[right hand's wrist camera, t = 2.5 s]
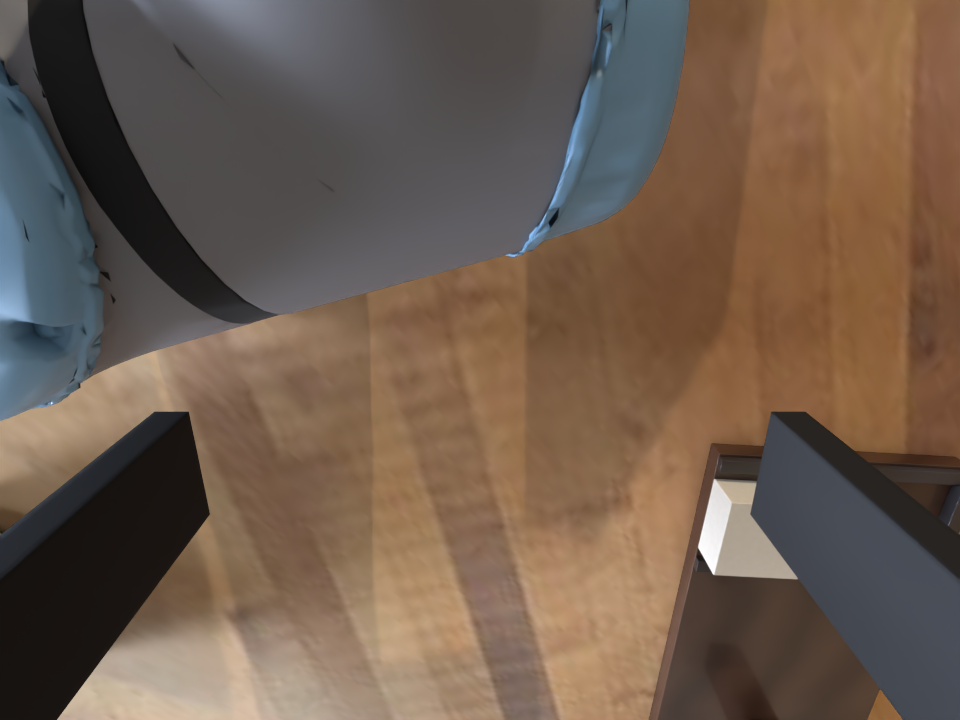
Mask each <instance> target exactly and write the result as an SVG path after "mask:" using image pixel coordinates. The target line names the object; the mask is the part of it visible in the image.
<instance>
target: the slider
mask: <svg viewBox="0 0 960 720" xmlns="http://www.w3.org/2000/svg"><path fill="white" fill-rule="evenodd" d="M756 484H757V481H748V480H729V479H714V482H713V486H712V490H711V494H710V499H709V503H708V507H707V511H706V516H705V520H704V524H703V529H702V533H701V537H700V541H699V546H698V548H699V550H700V552H701V553H702V555H703V557H704V559H705V561H706V562H707V564H708V566H709V568H710V570H711V571H712V573H713V575H721V576H741V577H760V578H780V579H798V578H797V576H796V575H795V574H794V572H793V571H792V570H791V568H790V567H789V566H788V564H787V563H786V562H785V560H784V559H783V558H782V556H781V555H780V554H779V552H778V551H777V550H776V548H775V547H774V546H773V544H772V543H771V542H770V540H769V539H768V538H767V536H766V535H765V534H764V532H763V531H762V529H761V528H760V527H759V525H758V524H757V523H756V521H755V520H754V519H753V517H752V516H751V515H750V513H751V508H752V503H753V498H754V493H755V488H756Z"/></svg>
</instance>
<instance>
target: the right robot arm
mask: <svg viewBox="0 0 960 720" xmlns="http://www.w3.org/2000/svg"><path fill="white" fill-rule="evenodd" d="M688 15H689V0H0V421H1V420H4V419H7V418H10V417H13V416H15V415H17V414H20V413H22V412H24V411H27V410H29V409H32V408H42V407H47V406H51V405H54V404H56V403H59V402H61V401H62V400H63V399H64V398H66V397H68V396H69V394H70V393H72V392H74V391H75V390H77V389H79V388H80V383H82V382H83V381H85V380H86V379H88V378H90V377H91V376H93V375H95V374H97V373H99V372H101V371H103V370H105V369H108V368H110V367H112V366H115V365H117V364H119V363H122V362H124V361H127V360H130V359H132V358H135V357H138V356H141V355H143V354H146V353H149V352H152V351H156V350H159V349H162V348H166V347H169V346H173V345H176V344H180V343H183V342H187V341H190V340H194V339H197V338H201V337H204V336H208V335H211V334H215V333H219V332H222V331H226V330H229V329H233V328H236V327H240V326H243V325H247V324H250V323H253V322H256V321H259V320H263V319H266V318H270V317H273V316H277V315H281V314H289V313H294V312H298V311H302V310H305V309H309V308H313V307H316V306H320V305H324V304H328V303H331V302H335V301H339V300H342V299H346V298H350V297H353V296H357V295H361V294H364V293H368V292H372V291H375V290H379V289H383V288H386V287H390V286H394V285H397V284H401V283H405V282H408V281H412V280H416V279H419V278H423V277H427V276H430V275H434V274H438V273H441V272H445V271H449V270H452V269H456V268H460V267H463V266H467V265H471V264H474V263H478V262H482V261H486V260H489V259H493V258H497V257H500V256H504V255H506V256H510V257H516V256H520V255H523V254H524V252H528V251H532V250H533V249H535V248H536V247H537V246H538V245H540V244H541V243H542V242H543V241H546V240H549V239H552V238H555V237H558V236H561V235H564V234H567V233H570V232H573V231H576V230H579V229H582V228H585V227H588V226H591V225H594V224H597V223H600V222H602V221H604V220H606V219H608V218H609V217H611V216H612V215H614V214H615V213H617V212H618V211H620V210H621V209H623V208H624V207H625V206H626V205H627V204H628V203H629V202H630V201H631V200H632V199H633V198H634V197H635V196H636V195H637V193H638V192H639V191H640V189H641V188H642V186H643V185H644V184H645V182H646V180H647V179H648V177H649V175H650V173H651V172H652V170H653V168H654V166H655V164H656V162H657V159H658V157H659V155H660V153H661V150H662V147H663V145H664V142H665V139H666V136H667V133H668V130H669V126H670V123H671V119H672V115H673V110H674V106H675V102H676V98H677V93H678V88H679V82H680V77H681V72H682V67H683V59H684V51H685V43H686V35H687V27H688ZM209 515H210V513H209V508H208V503H207V498H206V493H205V488H204V484H203V479H202V474H201V469H200V464H199V459H198V455H197V450H196V445H195V440H194V435H193V430H192V425H191V421H190V416H189V412H154V413H153V414H151V415H150V416H149V417H148V418H146V419H145V420H144V421H143V422H141V423H140V424H139V425H138V426H136V427H135V428H134V429H133V430H131V431H130V432H129V433H128V434H126V435H125V436H124V437H123V438H121V439H120V440H119V441H118V442H116V443H115V444H114V445H113V446H111V447H110V448H109V449H108V450H106V451H105V452H104V453H103V454H101V455H100V456H99V457H98V458H96V459H95V460H94V461H93V462H91V463H90V464H89V465H88V466H86V467H85V468H84V469H83V470H81V471H80V472H79V473H78V474H76V475H75V476H74V477H73V478H71V479H70V480H69V481H68V482H66V483H65V484H64V485H63V486H61V487H60V488H59V489H58V490H56V491H55V492H54V493H53V494H51V495H50V496H49V497H48V498H46V499H45V500H44V501H43V502H41V503H40V504H39V505H38V506H36V507H35V508H34V509H33V510H31V511H30V512H29V513H28V514H26V515H25V516H24V517H23V518H21V519H20V520H19V521H18V522H16V523H15V524H14V525H13V526H11V527H10V528H9V529H8V530H6V531H5V532H4V533H3V534H1V535H0V720H57V719H58V717H59V716H60V715H61V713H62V712H63V711H64V709H65V708H66V707H67V705H68V704H69V703H70V701H71V700H72V699H73V697H74V696H75V695H76V693H77V692H78V691H79V689H80V688H81V687H82V685H83V684H84V682H85V681H86V680H87V678H88V677H89V676H90V674H91V673H92V672H93V670H94V669H95V668H96V666H97V665H98V664H99V662H100V661H101V660H102V658H103V657H104V656H105V654H106V653H107V652H108V650H109V649H110V648H111V646H112V645H113V644H114V642H115V641H116V640H117V638H118V637H119V636H120V634H121V633H122V631H123V630H124V629H125V627H126V626H127V625H128V623H129V622H130V621H131V619H132V618H133V617H134V615H135V614H136V613H137V611H138V610H139V609H140V607H141V606H142V605H143V603H144V602H145V601H146V599H147V598H148V597H149V595H150V594H151V593H152V591H153V590H154V589H155V587H156V586H157V585H158V583H159V582H160V580H161V579H162V578H163V576H164V575H165V574H166V572H167V571H168V570H169V568H170V567H171V566H172V564H173V563H174V562H175V560H176V559H177V558H178V556H179V555H180V554H181V552H182V551H183V550H184V548H185V547H186V546H187V544H188V543H189V542H190V540H191V539H192V538H193V536H194V535H195V534H196V532H197V531H198V529H199V528H200V527H201V525H202V524H203V523H204V521H205V520H206V519H207V517H208V516H209ZM750 515H751V516H752V517H753V519H754V520H755V521H756V523H757V524H758V525H759V527H760V528H761V529H762V531H763V532H764V534H765V535H766V536H767V538H768V539H769V540H770V542H771V543H772V544H773V546H774V547H775V548H776V550H777V551H778V552H779V554H780V555H781V556H782V558H783V559H784V560H785V562H786V563H787V564H788V566H789V567H790V568H791V570H792V571H793V572H794V574H795V575H796V576H797V578H798V579H799V580H800V582H801V583H802V585H803V586H804V587H805V589H806V590H807V591H808V593H809V594H810V595H811V597H812V598H813V599H814V601H815V602H816V603H817V605H818V606H819V607H820V609H821V610H822V611H823V613H824V614H825V615H826V617H827V618H828V619H829V621H830V622H831V623H832V625H833V626H834V627H835V629H836V630H837V631H838V633H839V634H840V636H841V637H842V638H843V640H844V641H845V642H846V644H847V645H848V646H849V648H850V649H851V650H852V652H853V653H854V654H855V656H856V657H857V658H858V660H859V661H860V662H861V664H862V665H863V666H864V668H865V669H866V670H867V672H868V673H869V674H870V676H871V677H872V678H873V680H874V681H875V682H876V684H877V685H878V687H879V688H880V689H881V691H882V692H883V693H884V695H885V696H886V697H887V699H888V700H889V701H890V703H891V704H892V705H893V707H894V708H895V709H896V711H897V712H898V713H899V715H900V716H901V717H902V719H903V720H960V535H959V534H957V533H956V532H955V531H954V530H952V529H951V528H950V527H949V526H947V525H946V524H945V523H944V522H942V521H941V520H940V519H939V518H937V517H936V516H935V515H934V514H932V513H931V512H930V511H929V510H927V509H926V508H925V507H924V506H922V505H921V504H920V503H919V502H917V501H916V500H915V499H914V498H912V497H911V496H910V495H909V494H907V493H906V492H905V491H904V490H902V489H901V488H900V487H899V486H897V485H896V484H895V483H894V482H892V481H891V480H890V479H889V478H887V477H886V476H885V475H884V474H882V473H881V472H880V471H879V470H877V469H876V468H875V467H874V466H872V465H871V464H870V463H869V462H867V461H866V460H865V459H864V458H862V457H861V456H860V455H859V454H857V453H856V452H855V451H854V450H852V449H851V448H850V447H849V446H847V445H846V444H845V443H844V442H842V441H841V440H840V439H839V438H837V437H836V436H835V435H834V434H832V433H831V432H830V431H829V430H827V429H826V428H825V427H824V426H822V425H821V424H820V423H819V422H817V421H816V420H815V419H814V418H812V417H811V416H810V415H809V414H807V413H806V412H771V416H770V421H769V425H768V430H767V435H766V440H765V445H764V450H763V455H762V459H761V464H760V469H759V474H758V479H757V484H756V488H755V493H754V498H753V503H752V508H751V513H750Z"/></svg>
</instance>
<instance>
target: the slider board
mask: <svg viewBox="0 0 960 720" xmlns="http://www.w3.org/2000/svg"><path fill="white" fill-rule="evenodd" d="M763 450H764V446H746V445H728V444H711V448H710V453H709V457H708V462H707V466H706V470H705V475H704V479H703V484H702V488H701V492H700V497H699V501H698V506H697V510H696V514H695V519H694V523H693V528H692V532H691V537H690V541H689V545H688V550H687V554H686V559H685V563H684V567H683V572H682V576H681V581H680V585H679V589H678V594H677V598H676V603H675V607H674V612H673V616H672V620H671V625H670V629H669V634H668V638H667V642H666V647H665V651H664V656H663V660H662V665H661V669H660V673H659V678H658V682H657V687H656V691H655V695H654V700H653V704H652V709H651V713H650V717H649V720H867V719H868V716H869V714H870V711H871V709H872V707H873V704H874V702H875V699H876V697H877V695H878V692H879V690H880V688H879V687H878V685H877V684H876V682H875V681H874V680H873V678H872V677H871V676H870V674H869V673H868V672H867V670H866V669H865V668H864V666H863V665H862V664H861V662H860V661H859V660H858V658H857V657H856V656H855V654H854V653H853V652H852V650H851V649H850V648H849V646H848V645H847V644H846V642H845V641H844V640H843V638H842V637H841V636H840V634H839V633H838V631H837V630H836V629H835V627H834V626H833V625H832V623H831V622H830V621H829V619H828V618H827V617H826V615H825V614H824V613H823V611H822V610H821V609H820V607H819V606H818V605H817V603H816V602H815V601H814V599H813V598H812V597H811V595H810V594H809V593H808V591H807V590H806V589H805V587H804V586H803V585H802V583H801V582H800V580H799V579H780V578H760V577H741V576H721V575H713V573H712V571H711V570H710V568H709V566H708V564H707V562H706V561H705V559H704V557H703V555H702V553H701V552H700V550H699V548H698V546H699V541H700V537H701V533H702V529H703V524H704V520H705V516H706V511H707V507H708V503H709V499H710V494H711V490H712V486H713V482H714V479H729V480H748V481H757V479H758V474H759V469H760V464H761V459H762V455H763ZM855 452H856V451H855ZM856 453H857V454H859V455H860V456H861V457H862V458H864V459H865V460H866V461H867V462H869V463H870V464H871V465H872V466H874V467H875V468H876V469H877V470H879V471H880V472H881V473H882V474H884V475H885V476H886V477H887V478H889V479H890V480H891V481H892V482H894V483H895V484H896V485H897V486H899V487H900V488H901V489H902V490H904V491H905V492H906V493H907V494H909V495H910V496H911V497H912V498H914V499H915V500H916V501H917V502H919V503H920V504H921V505H922V506H924V507H925V508H926V509H927V510H929V511H930V512H931V513H932V514H934V515H935V516H936V517H937V518H939V519H940V520H941V521H942V522H944V523H945V524H946V525H947V526H949V527H950V528H951V529H952V530H954V531H955V532H956V533H957V534H959V532H960V460H959V459H957V458H956V457H947V456H929V455H910V454H892V453H874V452H856Z"/></svg>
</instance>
